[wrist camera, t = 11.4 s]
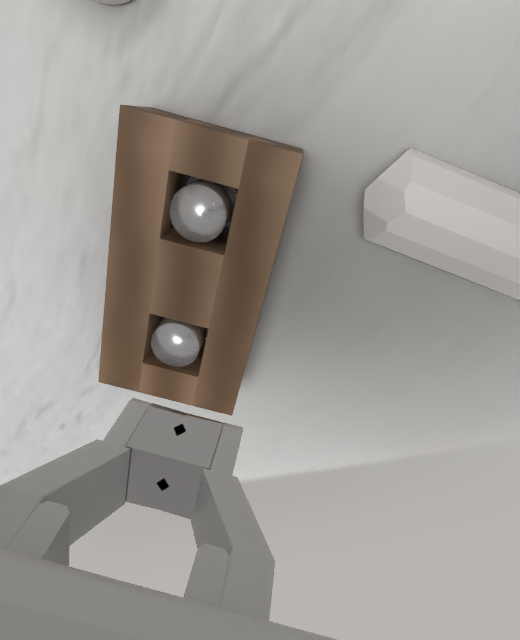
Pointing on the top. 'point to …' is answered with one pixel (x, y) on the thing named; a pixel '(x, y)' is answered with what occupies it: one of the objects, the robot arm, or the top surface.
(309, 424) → the top surface
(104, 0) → the bath foam
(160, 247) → the brown wooden block
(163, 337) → the peg
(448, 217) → the crystal
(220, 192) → the peg
